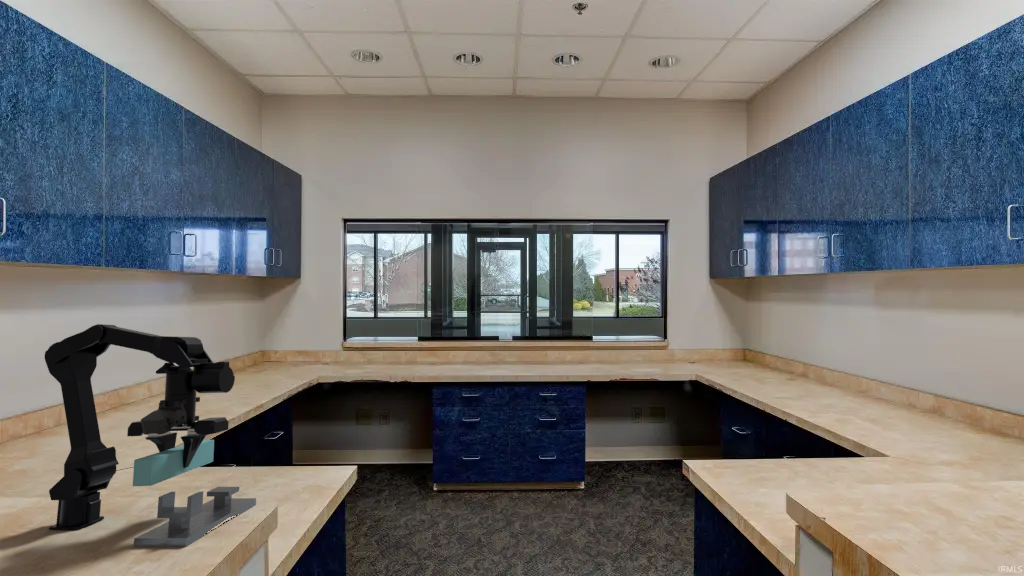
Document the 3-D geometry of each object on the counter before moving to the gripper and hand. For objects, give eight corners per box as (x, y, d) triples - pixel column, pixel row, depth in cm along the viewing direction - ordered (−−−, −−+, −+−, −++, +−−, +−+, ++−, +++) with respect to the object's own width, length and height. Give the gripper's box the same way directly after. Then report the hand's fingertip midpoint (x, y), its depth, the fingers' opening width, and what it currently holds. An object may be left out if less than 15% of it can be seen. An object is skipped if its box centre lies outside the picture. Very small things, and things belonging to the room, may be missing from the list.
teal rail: (132, 486, 94) (134, 459, 95) (198, 461, 114) (199, 440, 115) (150, 485, 94) (152, 459, 95) (213, 461, 114) (214, 439, 115)
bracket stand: (133, 546, 91) (137, 502, 92) (214, 504, 115) (216, 470, 116) (185, 546, 91) (188, 502, 92) (255, 504, 114) (257, 469, 115)
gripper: (107, 399, 98) (102, 479, 96) (198, 396, 98) (194, 476, 96) (149, 393, 109) (145, 465, 107) (231, 391, 109) (228, 463, 107)
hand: (177, 467), depth 104 cm, fingers closed on teal rail, 3 cm apart
